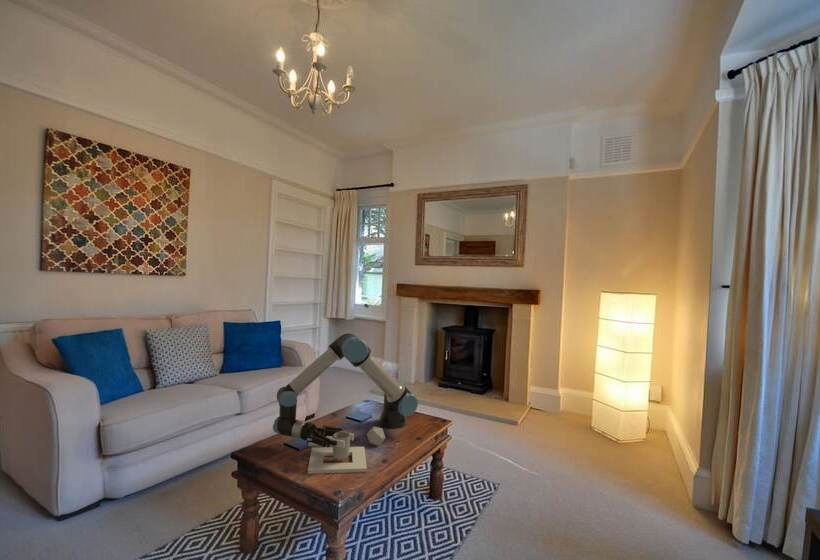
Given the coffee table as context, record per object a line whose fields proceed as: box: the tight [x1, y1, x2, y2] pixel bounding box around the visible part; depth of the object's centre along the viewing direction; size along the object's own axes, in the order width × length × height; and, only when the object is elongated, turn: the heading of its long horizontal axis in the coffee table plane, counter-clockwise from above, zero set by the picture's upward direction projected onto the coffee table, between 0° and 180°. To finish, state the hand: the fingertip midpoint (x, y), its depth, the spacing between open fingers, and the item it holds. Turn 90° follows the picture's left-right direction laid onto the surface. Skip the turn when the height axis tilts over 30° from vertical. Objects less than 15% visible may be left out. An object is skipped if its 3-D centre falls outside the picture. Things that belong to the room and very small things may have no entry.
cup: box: [332, 431, 351, 460], centre depth 161 cm, size 7×10×9 cm
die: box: [366, 425, 386, 447], centre depth 180 cm, size 8×9×10 cm
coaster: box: [307, 433, 332, 448], centre depth 179 cm, size 12×12×1 cm
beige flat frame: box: [307, 446, 368, 475], centre depth 161 cm, size 24×20×2 cm
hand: (348, 440), depth 159 cm, fingers closed on cup, 7 cm apart
